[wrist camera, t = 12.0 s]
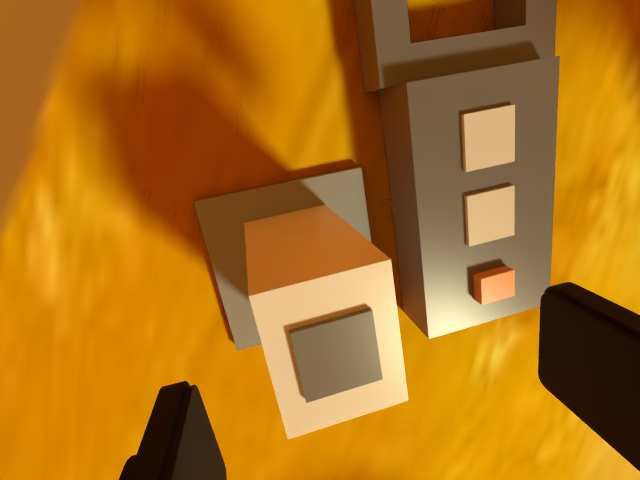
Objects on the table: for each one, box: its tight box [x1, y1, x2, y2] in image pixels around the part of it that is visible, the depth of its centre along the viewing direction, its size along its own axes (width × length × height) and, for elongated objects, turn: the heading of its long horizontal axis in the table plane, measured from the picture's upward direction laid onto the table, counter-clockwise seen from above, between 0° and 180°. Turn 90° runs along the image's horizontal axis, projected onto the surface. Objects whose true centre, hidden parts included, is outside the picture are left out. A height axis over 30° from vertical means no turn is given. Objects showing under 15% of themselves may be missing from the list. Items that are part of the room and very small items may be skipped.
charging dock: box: [353, 0, 560, 339], centre depth 16 cm, size 8×21×4 cm, turn 10°
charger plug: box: [244, 204, 408, 439], centre depth 14 cm, size 4×5×8 cm
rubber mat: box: [193, 167, 372, 351], centre depth 18 cm, size 8×8×1 cm
